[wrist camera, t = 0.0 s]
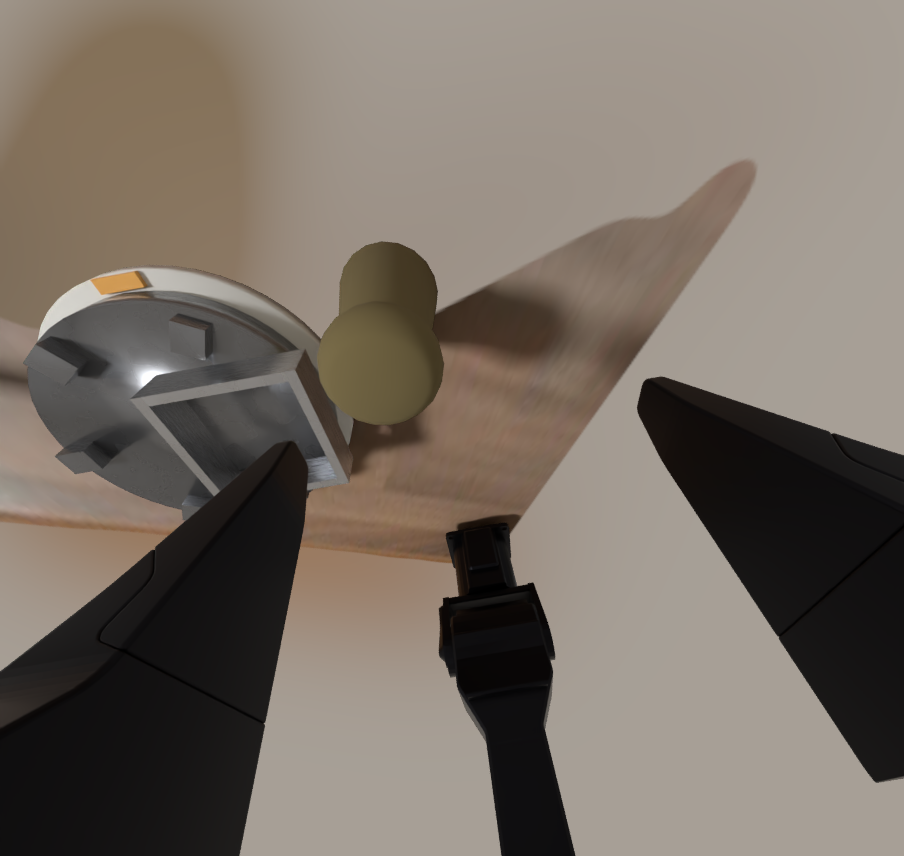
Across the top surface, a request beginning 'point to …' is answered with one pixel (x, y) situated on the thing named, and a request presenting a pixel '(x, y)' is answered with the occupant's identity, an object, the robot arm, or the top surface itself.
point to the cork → (383, 337)
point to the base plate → (202, 287)
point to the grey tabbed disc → (179, 397)
